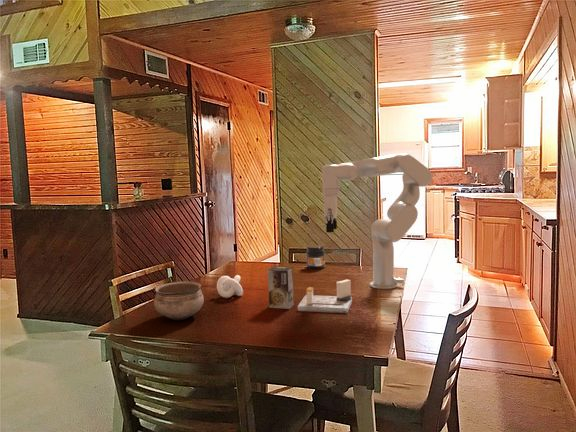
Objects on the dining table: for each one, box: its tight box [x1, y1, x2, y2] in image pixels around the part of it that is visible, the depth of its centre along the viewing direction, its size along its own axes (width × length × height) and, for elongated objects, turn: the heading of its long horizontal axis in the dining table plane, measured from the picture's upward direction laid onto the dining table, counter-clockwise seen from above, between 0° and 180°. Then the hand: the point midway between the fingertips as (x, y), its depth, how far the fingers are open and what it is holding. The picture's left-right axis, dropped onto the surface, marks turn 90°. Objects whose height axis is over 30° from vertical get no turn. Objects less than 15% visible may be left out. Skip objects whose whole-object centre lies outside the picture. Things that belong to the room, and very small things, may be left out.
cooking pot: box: [153, 281, 205, 321], centre depth 187 cm, size 25×19×12 cm
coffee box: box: [267, 266, 295, 310], centre depth 197 cm, size 9×6×16 cm
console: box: [297, 294, 353, 314], centre depth 197 cm, size 20×16×2 cm
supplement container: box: [305, 244, 326, 270], centre depth 269 cm, size 10×10×12 cm
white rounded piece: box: [216, 274, 244, 299], centre depth 215 cm, size 11×12×9 cm
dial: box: [336, 279, 352, 300], centre depth 199 cm, size 6×6×7 cm
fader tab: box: [305, 286, 314, 304], centre depth 194 cm, size 2×4×6 cm, turn 166°
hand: (331, 230), depth 214 cm, fingers open, 9 cm apart
